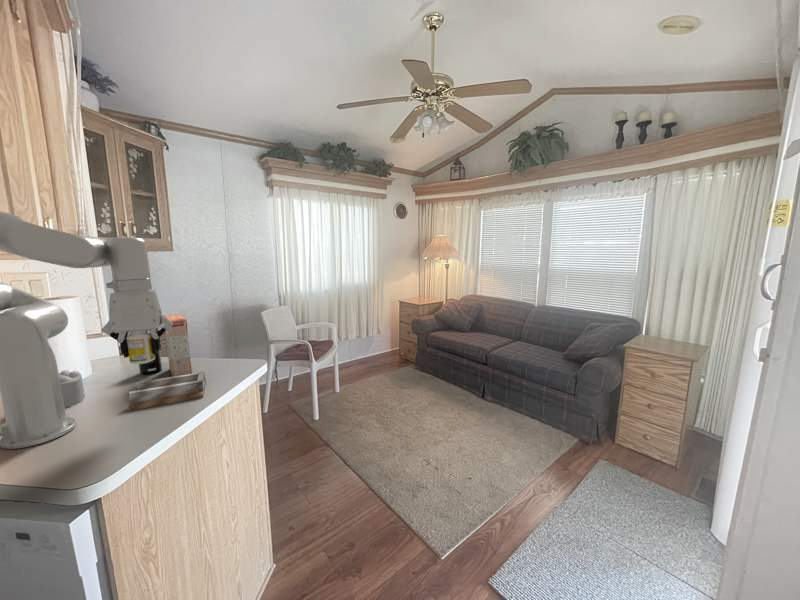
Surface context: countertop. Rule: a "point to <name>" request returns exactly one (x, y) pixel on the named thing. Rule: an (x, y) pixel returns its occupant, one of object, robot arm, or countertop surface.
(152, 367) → the supplement container
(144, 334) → the supplement bottle
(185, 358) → the cracker box
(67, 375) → the lumpy-topped squat cylinder
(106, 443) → the countertop surface
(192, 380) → the wooden tray
